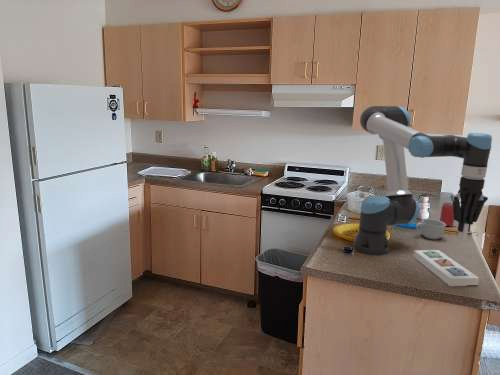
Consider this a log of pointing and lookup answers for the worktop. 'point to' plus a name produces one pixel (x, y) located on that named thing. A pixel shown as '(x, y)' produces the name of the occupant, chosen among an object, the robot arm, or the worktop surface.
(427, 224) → the teacup
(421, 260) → the button panel
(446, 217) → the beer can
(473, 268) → the worktop surface
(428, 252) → the one pip button
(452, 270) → the two pip button
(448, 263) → the three pip button
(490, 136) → the robot arm
